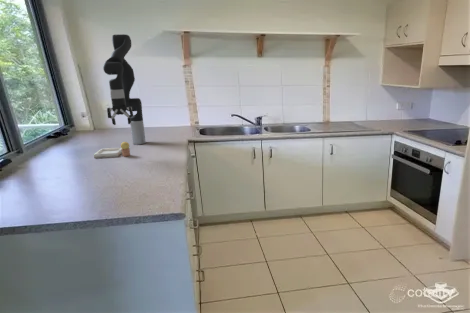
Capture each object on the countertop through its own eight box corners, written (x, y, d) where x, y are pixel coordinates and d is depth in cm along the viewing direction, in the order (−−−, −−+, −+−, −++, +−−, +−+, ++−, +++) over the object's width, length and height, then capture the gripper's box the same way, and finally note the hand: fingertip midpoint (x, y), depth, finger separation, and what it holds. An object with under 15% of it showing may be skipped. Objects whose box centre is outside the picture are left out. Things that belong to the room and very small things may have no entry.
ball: (122, 148, 175) (121, 141, 174) (130, 148, 176) (129, 140, 174) (120, 150, 170) (119, 143, 169) (128, 150, 171) (127, 142, 169)
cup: (123, 155, 176) (122, 148, 175) (131, 154, 177) (130, 147, 175) (121, 157, 172) (120, 149, 170) (129, 156, 172) (128, 149, 171)
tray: (101, 152, 184) (101, 148, 184) (123, 151, 186) (123, 147, 185) (94, 158, 171) (93, 154, 170) (117, 156, 173) (117, 152, 172)
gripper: (131, 96, 168) (135, 122, 173) (107, 97, 167) (111, 124, 171) (128, 97, 161) (132, 124, 166) (103, 98, 159) (107, 126, 164)
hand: (122, 124), depth 169 cm, fingers open, 8 cm apart
